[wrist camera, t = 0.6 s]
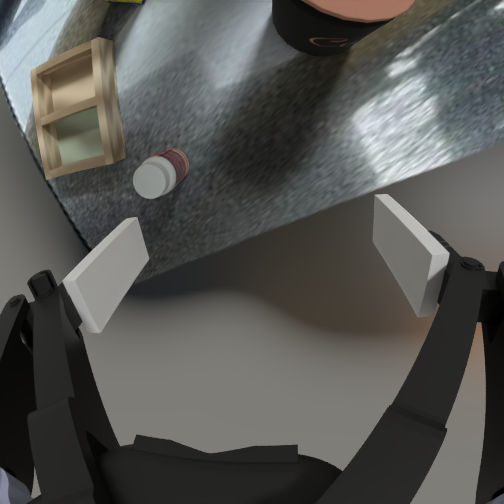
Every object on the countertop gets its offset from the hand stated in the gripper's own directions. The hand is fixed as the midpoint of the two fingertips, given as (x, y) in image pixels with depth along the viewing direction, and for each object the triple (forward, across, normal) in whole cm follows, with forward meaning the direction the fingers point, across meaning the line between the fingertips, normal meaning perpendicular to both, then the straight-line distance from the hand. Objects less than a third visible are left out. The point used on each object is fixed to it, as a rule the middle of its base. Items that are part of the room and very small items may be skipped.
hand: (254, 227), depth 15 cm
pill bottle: (+23, -12, 0) cm, 26 cm away
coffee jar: (+23, +8, +18) cm, 30 cm away
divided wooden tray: (+23, -25, +12) cm, 36 cm away
